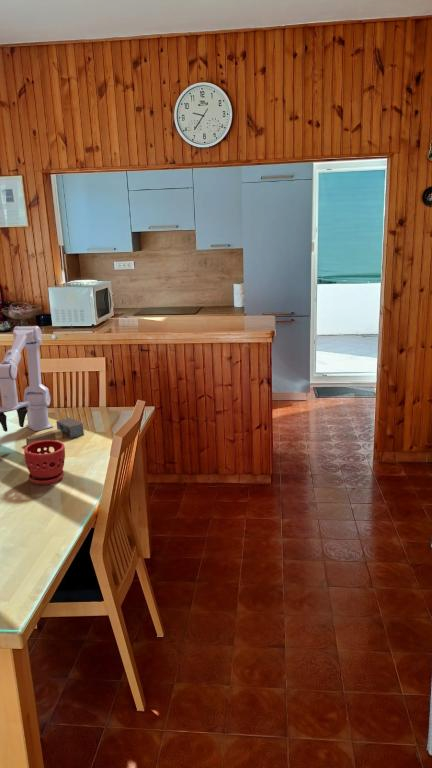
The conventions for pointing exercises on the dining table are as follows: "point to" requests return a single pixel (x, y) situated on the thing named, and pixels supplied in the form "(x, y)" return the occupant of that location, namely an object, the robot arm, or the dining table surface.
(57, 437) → the capped rod
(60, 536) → the dining table surface
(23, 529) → the dining table surface
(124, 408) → the dining table surface
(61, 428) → the sleeve housing
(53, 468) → the plant pot
